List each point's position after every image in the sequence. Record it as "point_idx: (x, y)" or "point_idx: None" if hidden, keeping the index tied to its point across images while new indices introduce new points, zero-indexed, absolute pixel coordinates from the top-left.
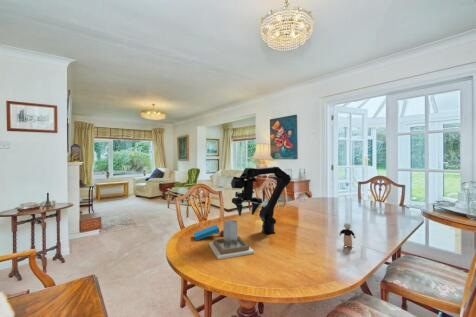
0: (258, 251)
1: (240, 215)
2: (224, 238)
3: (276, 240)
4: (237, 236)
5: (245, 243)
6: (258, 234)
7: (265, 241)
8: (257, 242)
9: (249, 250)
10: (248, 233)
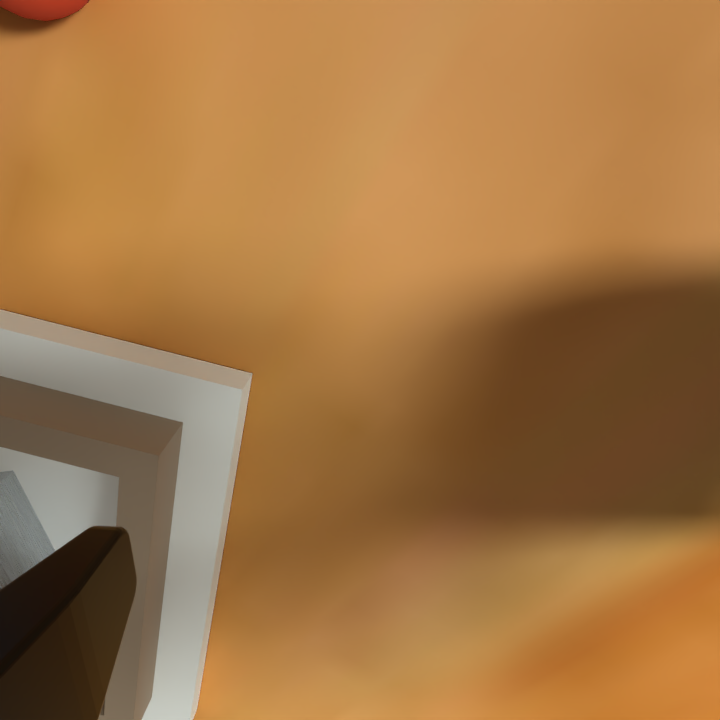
0: (265, 706)
1: (127, 599)
2: None
3: (697, 654)
4: (133, 455)
5: (126, 681)
6: (712, 340)
7: (543, 596)
8: (423, 560)
9: (150, 705)
10: (600, 176)
